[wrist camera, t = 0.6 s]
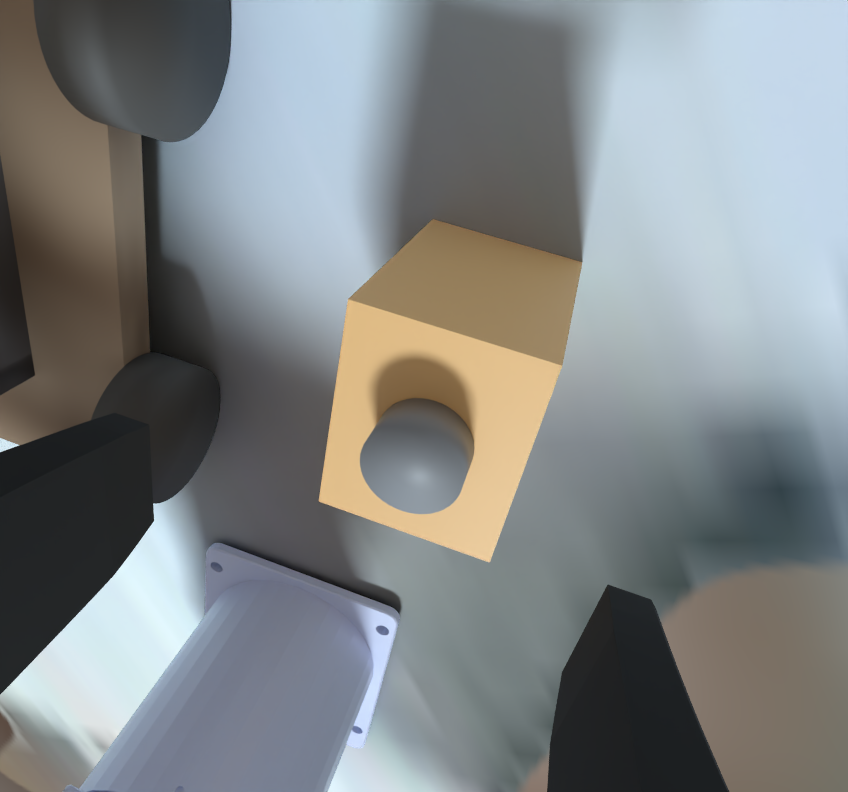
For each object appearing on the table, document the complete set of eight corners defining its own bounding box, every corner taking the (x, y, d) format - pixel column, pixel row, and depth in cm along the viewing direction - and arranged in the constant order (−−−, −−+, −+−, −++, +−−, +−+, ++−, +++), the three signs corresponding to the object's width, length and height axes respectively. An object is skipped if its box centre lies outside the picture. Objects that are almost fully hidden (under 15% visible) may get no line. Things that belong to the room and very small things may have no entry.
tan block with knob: (526, 420, 19) (480, 596, 13) (399, 379, 19) (298, 531, 13) (582, 261, 16) (557, 393, 10) (432, 218, 16) (326, 319, 11)
